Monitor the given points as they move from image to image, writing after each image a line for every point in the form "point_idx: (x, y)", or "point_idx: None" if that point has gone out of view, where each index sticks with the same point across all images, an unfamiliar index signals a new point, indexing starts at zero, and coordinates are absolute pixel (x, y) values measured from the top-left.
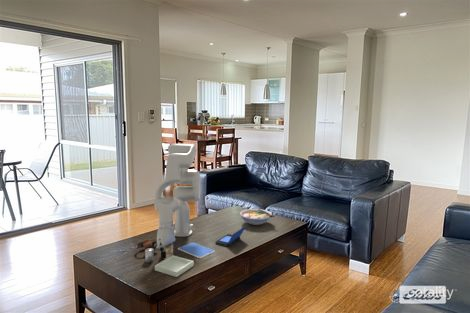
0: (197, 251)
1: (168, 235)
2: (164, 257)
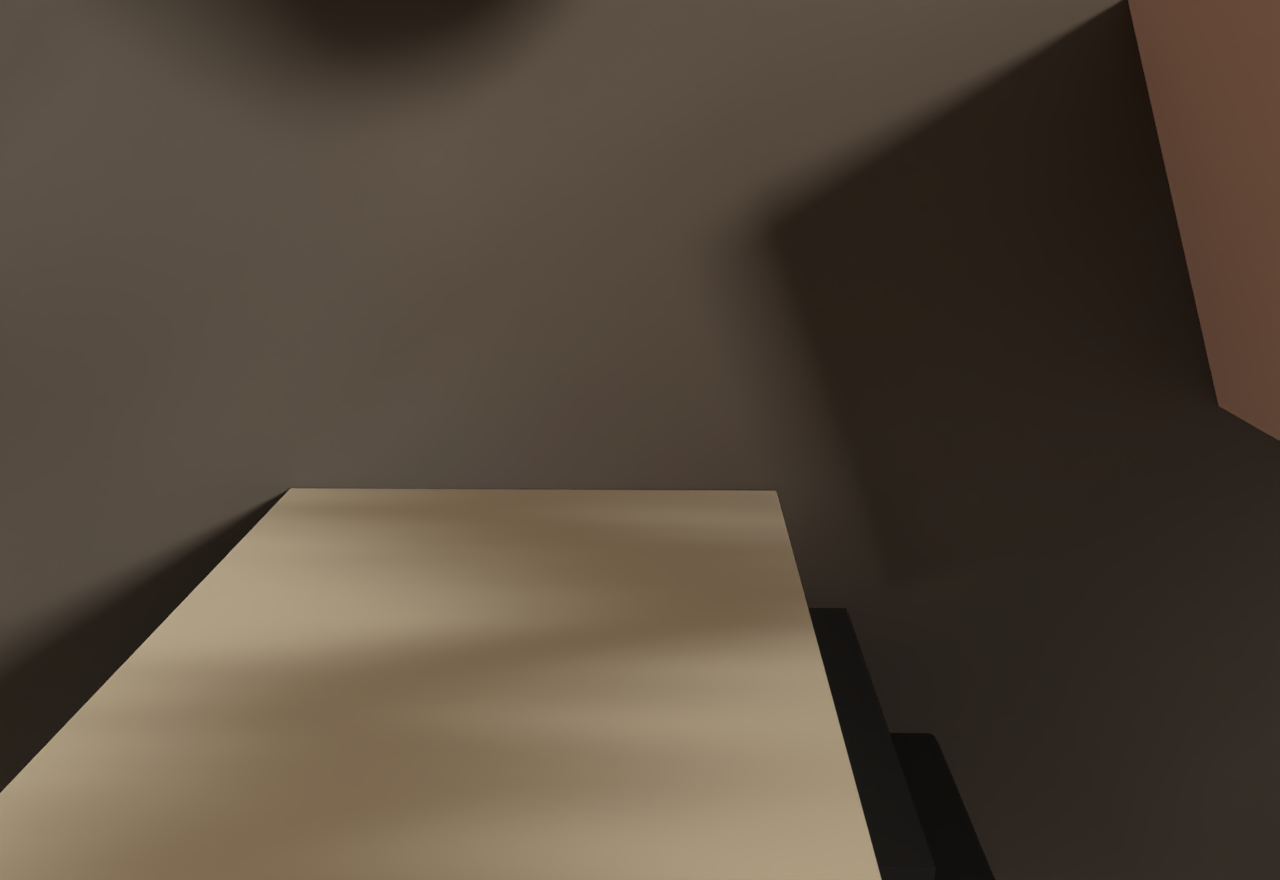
0: None
1: None
2: None
